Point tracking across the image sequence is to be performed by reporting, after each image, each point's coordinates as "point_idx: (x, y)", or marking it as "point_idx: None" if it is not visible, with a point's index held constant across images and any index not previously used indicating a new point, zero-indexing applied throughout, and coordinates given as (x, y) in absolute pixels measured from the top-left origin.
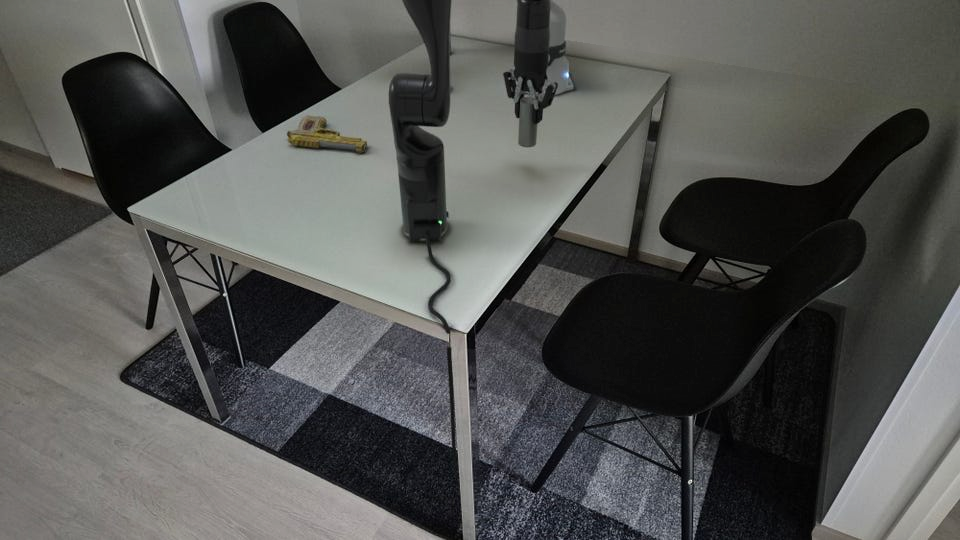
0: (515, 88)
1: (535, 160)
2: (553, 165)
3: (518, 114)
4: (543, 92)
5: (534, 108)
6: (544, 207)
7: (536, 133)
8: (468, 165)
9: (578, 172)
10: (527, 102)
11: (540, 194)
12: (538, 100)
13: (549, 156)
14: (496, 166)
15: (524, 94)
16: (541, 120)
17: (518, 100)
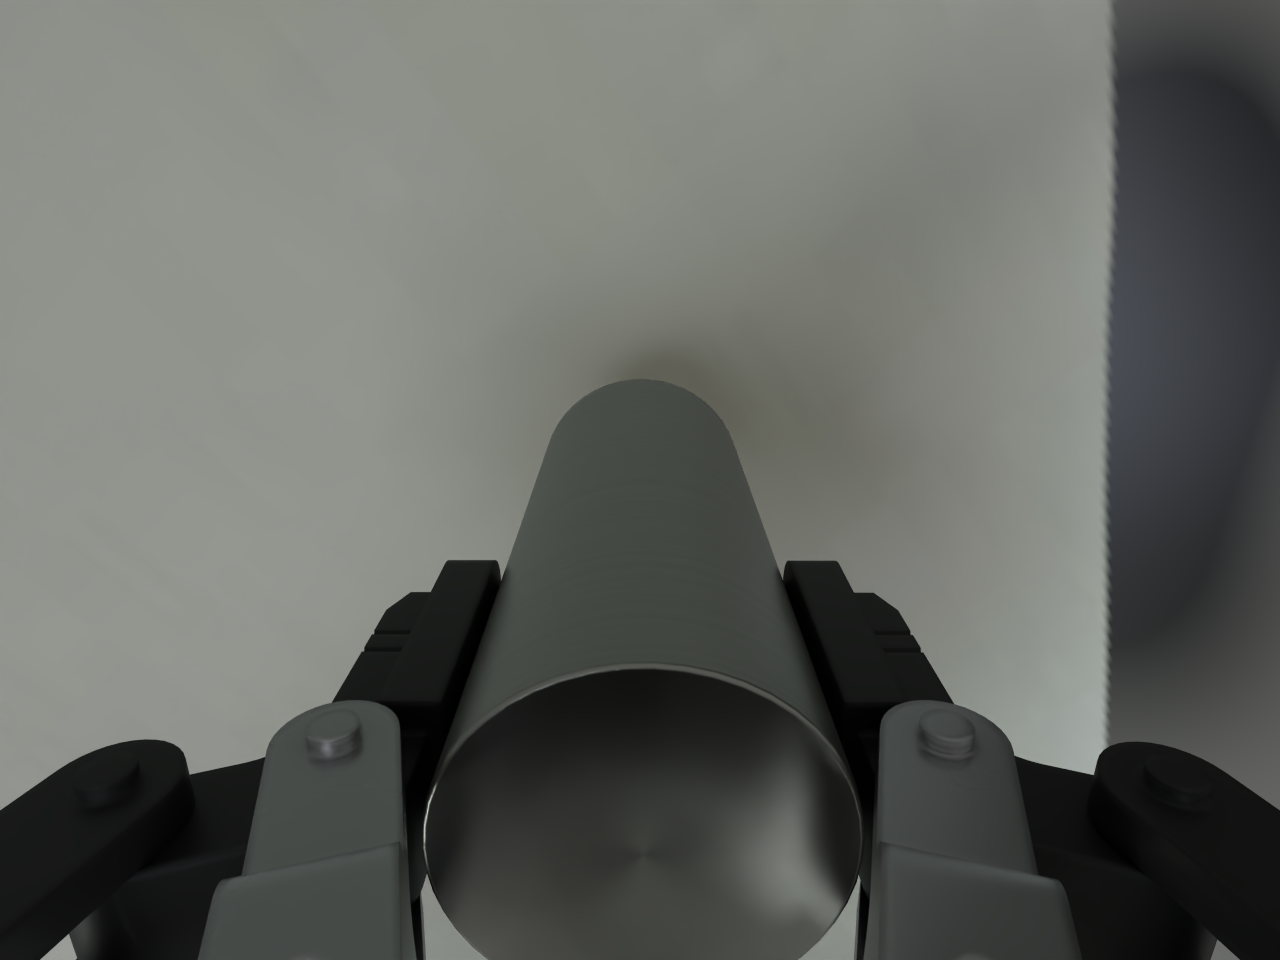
0: (49, 933)
1: (618, 229)
2: (795, 200)
3: None
4: (1071, 957)
5: None
6: (1036, 717)
7: (751, 493)
8: (292, 626)
9: (1043, 160)
10: (685, 957)
11: (938, 619)
12: (825, 754)
13: (671, 70)
14: (448, 515)
15: (404, 837)
16: (877, 603)
17: (421, 906)
